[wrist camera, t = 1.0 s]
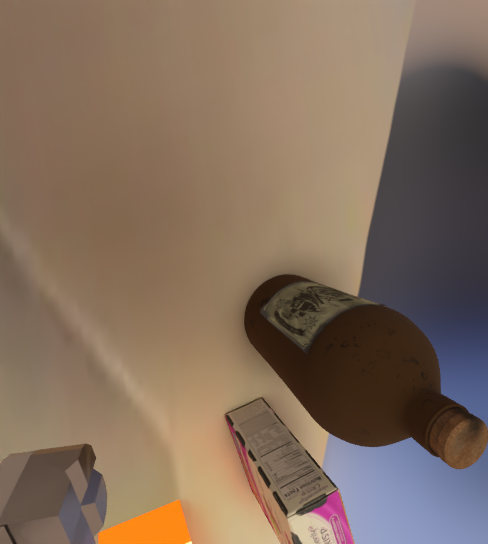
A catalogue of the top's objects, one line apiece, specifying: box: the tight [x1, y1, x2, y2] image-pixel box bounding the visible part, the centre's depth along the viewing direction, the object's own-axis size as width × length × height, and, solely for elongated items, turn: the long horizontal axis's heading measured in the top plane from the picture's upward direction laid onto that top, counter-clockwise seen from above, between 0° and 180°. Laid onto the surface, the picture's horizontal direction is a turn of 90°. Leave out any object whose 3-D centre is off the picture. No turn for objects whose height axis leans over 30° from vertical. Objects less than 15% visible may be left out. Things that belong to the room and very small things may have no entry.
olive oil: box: [245, 275, 488, 469], centre depth 36 cm, size 11×11×25 cm
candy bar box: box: [225, 398, 355, 544], centre depth 42 cm, size 11×5×16 cm, turn 17°
